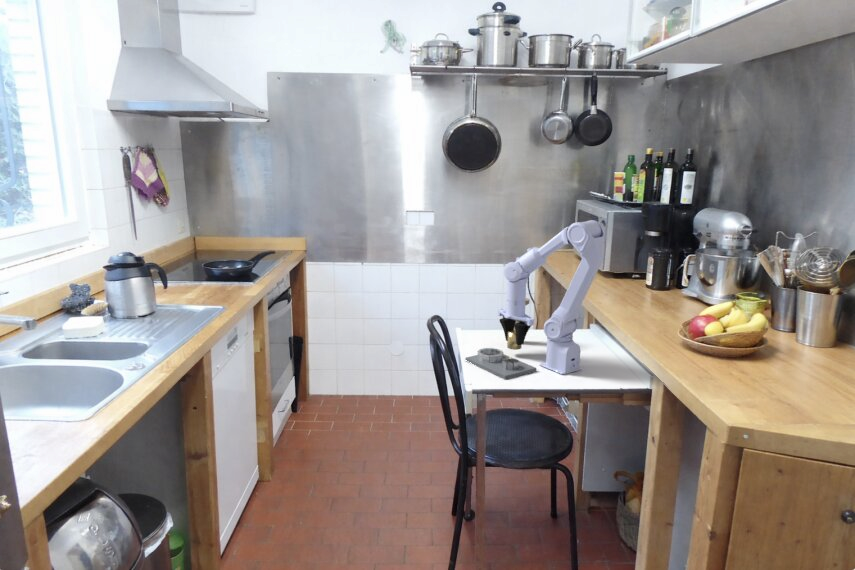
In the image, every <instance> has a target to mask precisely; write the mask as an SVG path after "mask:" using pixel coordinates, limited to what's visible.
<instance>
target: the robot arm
mask: <svg viewBox="0 0 855 570" xmlns="http://www.w3.org/2000/svg"><path fill="white" fill-rule="evenodd" d="M605 236H606V233H605V231H604V228H603V226H602V225H601V224H600V222H598V221H597V220H594V219H590V220H586V221H581V222H578V221H577V222H573V223H571V224H570V225H569V226H567V227H565V228H563V229H562V230H561V231H560V232H559V233H557V234H556V235H554V237H552V238H551V239H549V240H548V241H547V242H546V243H544V244H543V245H542V246H540V247H537V246H534V247H529V248H527V249H526V251H527V252H525V253H524V254H523V255H521V256H517V257H516V259H515V261H510V262H508V263H507V264H506V266H504V270H503V274H504V276H505V279H506V281H507V282H506V285H507V286H506V288H507V289H506V309H505V308H500V309H497V316H499V317H502V318H500V319H499V323H500V325H501V327H502V328H503V329H502V330H503V333H504V337H505V341H508V331H510V330H514V327H515V330H516V342H517V345H524V343H525V339H526V337H527V334H528V332H529V330H530V328H531V327H532V326H534V325H535V318H533V317H531V316H530V315H527V314H526V306H525V302H526V298H527V297H526V296H527V294H526V293H527V283H528V278H529V277H530V275H531V274H532V273H533V272H535V271H536V270H538V269H539V268H540V267H542V266H543V265H545V264H546V263H547V258H548V256H550V255H552V254H553V253H555V252H557V251H558V250H560V249H562V248H564V246H567V245H570V244H571V245H572V246H573V247H574V249H575V250H576V251H577V252H578V254H579V256H580V258H581V260H580V263H579V264H578V267H577V269H576V270H575V273H574V274H573V277H572V279H571V281H570V284H569V286H568V288H567V289H566V292H565V294H564V296H563V298H562V301H561V302H560V304H559V306H558V307H557V308H556V310H555V311H554V312H553V313H552V314H551V316H550V318H549V319H547V320H545V322H544V325H543V333H544V335H545V336H546V341H547V342H546V352H545V354H546V356H545V361H544V362H541V363H539V364H538V365H539V366H541V367H543V368H545V369H548V370H551V371H552V372H555V373H557V374H559V375H560V374H561V375H567V374H570V373H573V372H576V371H581V370H582V367H580V365H581V363H580V361H581V346H580V345H579V344H578V343H576V341H574V336H573V335H574V333H575V332H576V330H577V328H578V319H580V318H579V317H580V314H579V310H580V308H581V306H582V304H583V302H584V300H585V297H586V296H587V294H588V291H589V289H590V288H591V286H592V284H593V281H594V279H595V278H596V275H597V274H598V271H599V270H600V267H601V265H602V263H603V260H604V258H605V257H604V256H605V254H604V253H605V251H604V250H605V248H604V247H605V246H604V239H605ZM516 321H519V323H515V322H516Z"/></svg>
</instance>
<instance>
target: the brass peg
mask: <svg viewBox="0 0 855 570" xmlns="http://www.w3.org/2000/svg"><path fill="white" fill-rule="evenodd" d="M506 344H507V348H508V349H510V350H512V351H513V350H520V349H522V347H523V346H522V345H517V342H516V330H510V331H508V341H507V343H506Z"/></svg>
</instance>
